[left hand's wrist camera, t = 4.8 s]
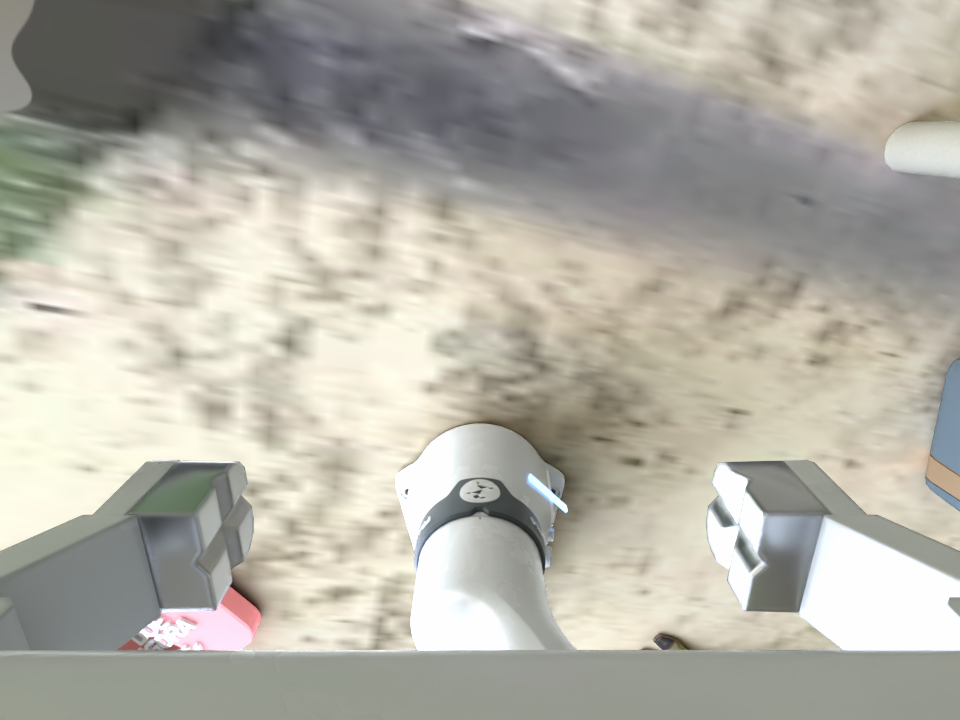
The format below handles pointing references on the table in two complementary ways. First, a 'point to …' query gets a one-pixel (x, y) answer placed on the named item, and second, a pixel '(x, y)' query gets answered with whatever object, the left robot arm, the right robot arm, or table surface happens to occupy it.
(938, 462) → the alarm clock
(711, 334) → the table surface
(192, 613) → the plaque
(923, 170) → the jar
